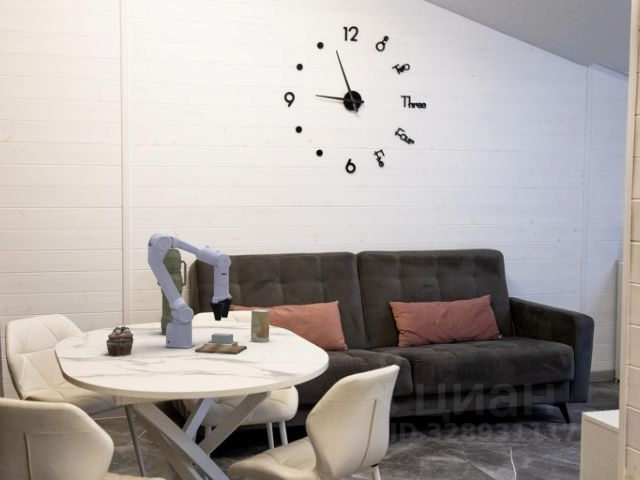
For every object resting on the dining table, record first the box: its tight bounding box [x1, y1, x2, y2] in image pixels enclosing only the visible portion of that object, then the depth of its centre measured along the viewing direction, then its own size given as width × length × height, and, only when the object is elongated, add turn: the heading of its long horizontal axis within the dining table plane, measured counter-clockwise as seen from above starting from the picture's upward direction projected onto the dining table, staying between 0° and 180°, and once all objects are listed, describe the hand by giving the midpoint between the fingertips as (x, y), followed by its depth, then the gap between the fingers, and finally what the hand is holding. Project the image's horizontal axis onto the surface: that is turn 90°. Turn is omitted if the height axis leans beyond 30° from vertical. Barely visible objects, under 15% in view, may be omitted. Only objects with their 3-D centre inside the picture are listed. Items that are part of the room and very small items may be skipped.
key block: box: [211, 332, 234, 344], centre depth 315 cm, size 4×7×5 cm, turn 76°
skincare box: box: [250, 309, 271, 343], centre depth 336 cm, size 6×4×12 cm
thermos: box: [156, 248, 188, 336], centre depth 350 cm, size 9×12×35 cm
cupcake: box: [105, 325, 134, 357], centre depth 307 cm, size 10×10×10 cm
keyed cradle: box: [194, 339, 248, 355], centre depth 315 cm, size 16×12×3 cm
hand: (221, 319), depth 330 cm, fingers open, 7 cm apart
